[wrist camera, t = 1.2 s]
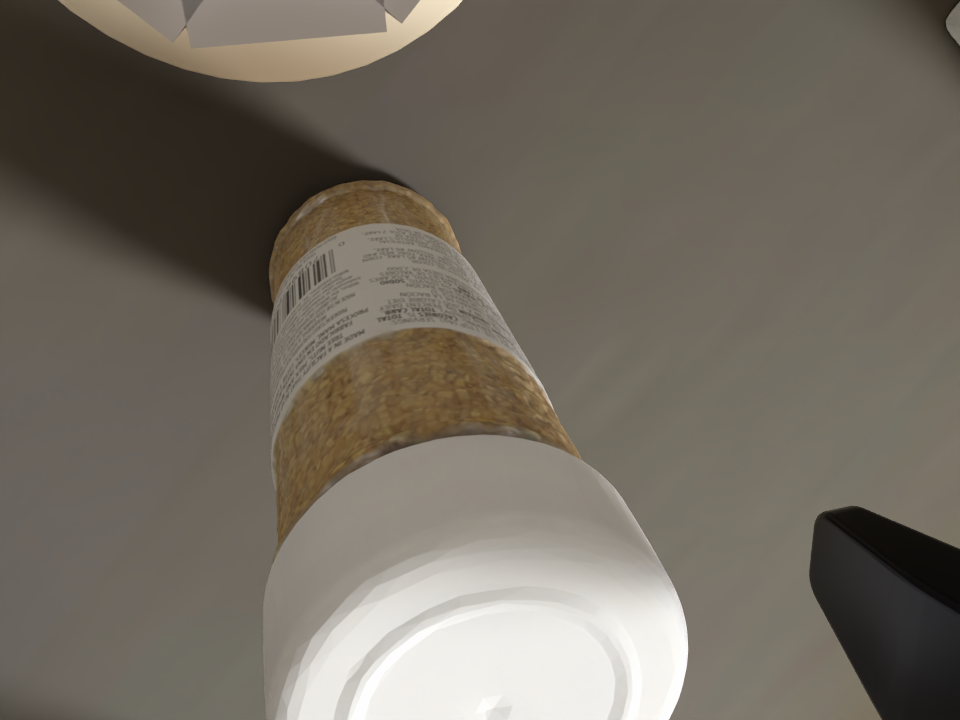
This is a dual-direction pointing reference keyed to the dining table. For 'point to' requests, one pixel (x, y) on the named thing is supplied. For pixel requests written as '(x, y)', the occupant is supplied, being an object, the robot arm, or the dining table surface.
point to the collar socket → (264, 33)
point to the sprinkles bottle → (438, 498)
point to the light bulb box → (954, 23)
